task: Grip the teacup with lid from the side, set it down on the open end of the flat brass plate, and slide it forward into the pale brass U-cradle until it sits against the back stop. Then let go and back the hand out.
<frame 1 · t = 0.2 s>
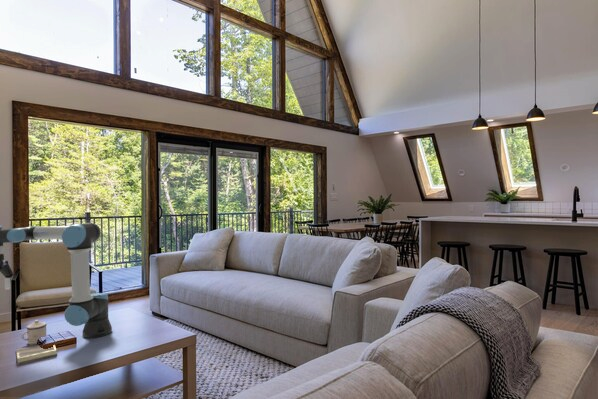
brass cradle: (37, 353, 187), on the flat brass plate, point 1 cm above the table
teacup with lid: (34, 342, 207), on the table
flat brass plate: (36, 353, 192), on the table
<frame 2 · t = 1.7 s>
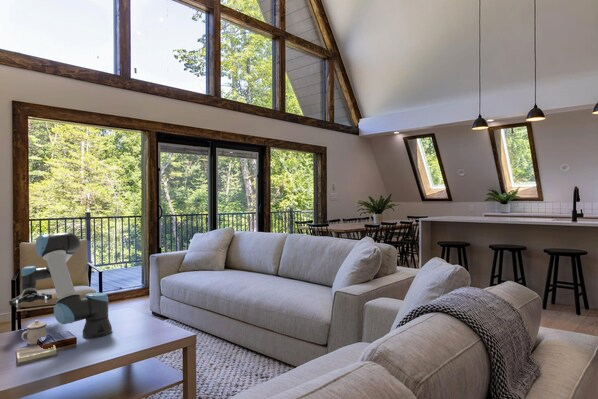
hand: (32, 302, 214), 20 cm above the table, tool horizontal, fingers open, 13 cm apart
nothing on the table moved.
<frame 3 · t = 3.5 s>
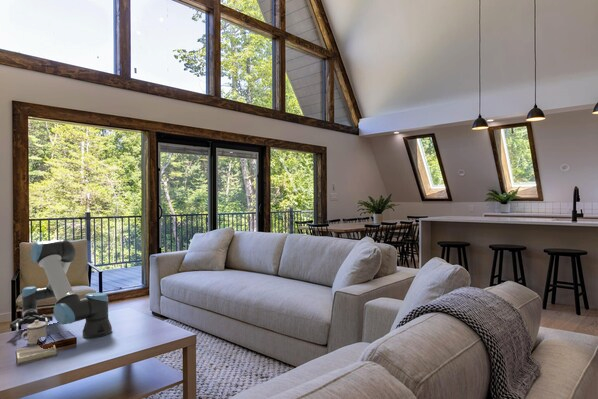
hand: (32, 325, 213), 7 cm above the table, tool horizontal, fingers open, 13 cm apart
nothing on the table moved.
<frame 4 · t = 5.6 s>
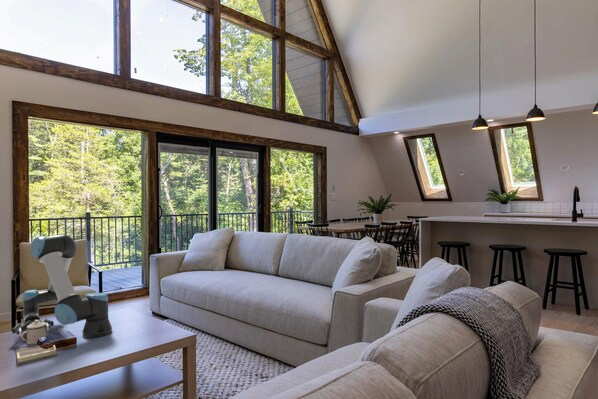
hand: (34, 331, 204), 7 cm above the table, tool horizontal, fingers closed on teacup with lid, 11 cm apart
teacup with lid: (34, 342, 207), on the table, touching gripper
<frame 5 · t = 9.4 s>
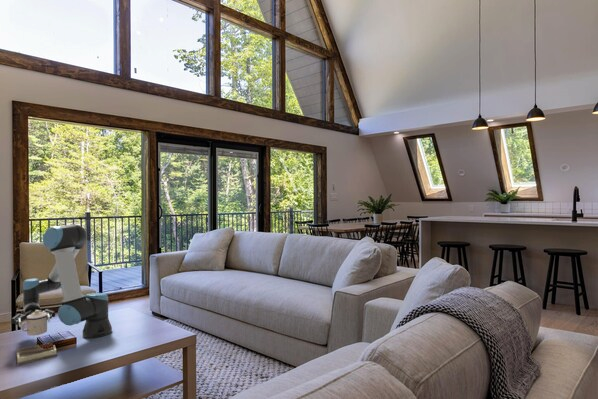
hand: (34, 321, 192), 16 cm above the table, tool horizontal, fingers closed on teacup with lid, 11 cm apart
teacup with lid: (34, 334, 195), point 9 cm above the table, touching gripper
when the fingers open (8 cm above the table, at t = 12.9 s): teacup with lid stays where it is, resting on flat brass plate.
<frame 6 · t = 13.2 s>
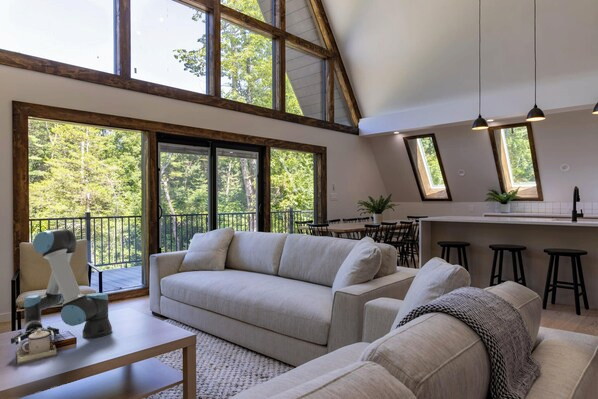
hand: (36, 340, 187), 8 cm above the table, tool horizontal, fingers open, 13 cm apart
teacup with lid: (36, 353, 190), point 1 cm above the table, touching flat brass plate
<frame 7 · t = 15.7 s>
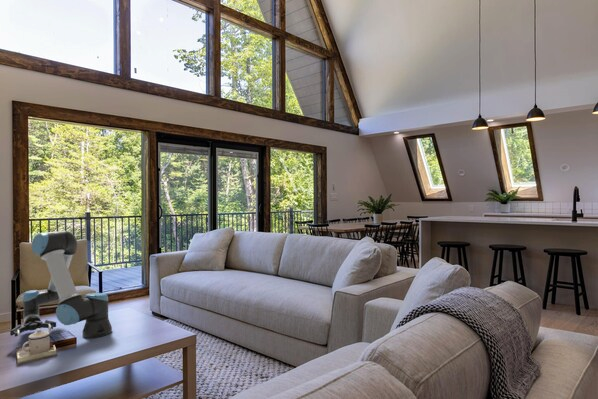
hand: (34, 332, 197), 9 cm above the table, tool horizontal, fingers open, 13 cm apart
nothing on the table moved.
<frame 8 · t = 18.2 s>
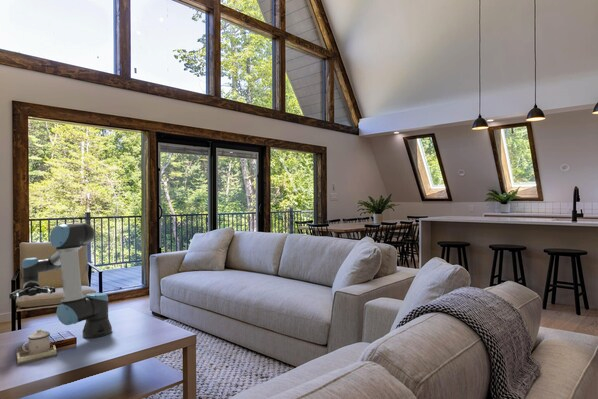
hand: (34, 296, 197), 28 cm above the table, tool horizontal, fingers open, 13 cm apart
nothing on the table moved.
at the end: teacup with lid 0.1 cm from the target spot on the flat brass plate, point 0.8 cm above the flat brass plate's base; teacup with lid tilted 0°; the gripper is holding nothing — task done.
